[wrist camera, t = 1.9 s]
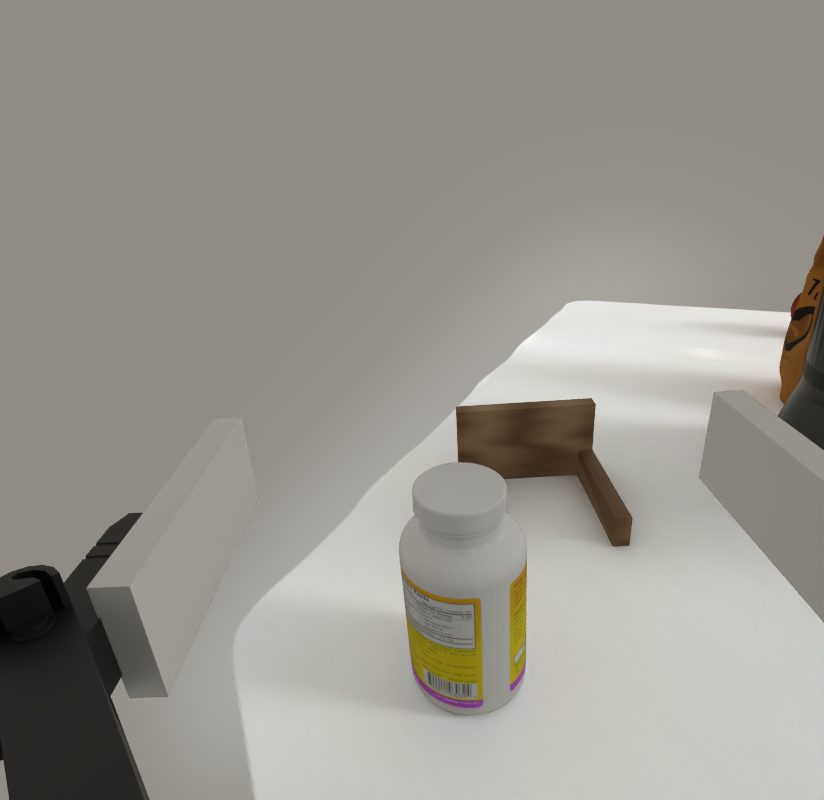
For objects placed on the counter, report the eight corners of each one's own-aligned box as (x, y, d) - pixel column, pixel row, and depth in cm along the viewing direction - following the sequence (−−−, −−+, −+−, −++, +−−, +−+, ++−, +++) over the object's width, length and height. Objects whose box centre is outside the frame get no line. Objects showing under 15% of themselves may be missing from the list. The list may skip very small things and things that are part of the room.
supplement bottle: (492, 611, 37) (490, 441, 31) (547, 695, 31) (556, 503, 25) (396, 645, 35) (376, 469, 29) (436, 740, 29) (421, 544, 24)
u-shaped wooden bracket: (586, 466, 52) (591, 398, 49) (629, 545, 41) (638, 465, 38) (458, 474, 52) (456, 406, 49) (469, 554, 42) (467, 474, 39)
